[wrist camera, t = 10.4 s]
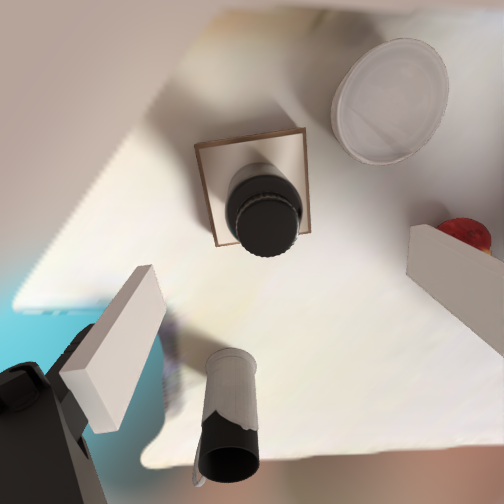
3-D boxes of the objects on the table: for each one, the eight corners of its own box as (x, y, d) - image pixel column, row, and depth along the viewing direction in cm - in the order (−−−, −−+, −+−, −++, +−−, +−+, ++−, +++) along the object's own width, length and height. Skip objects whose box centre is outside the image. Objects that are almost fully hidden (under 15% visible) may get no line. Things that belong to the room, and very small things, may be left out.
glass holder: (266, 360, 47) (278, 456, 33) (224, 410, 51) (219, 512, 37) (222, 340, 44) (215, 434, 31) (181, 393, 49) (160, 496, 35)
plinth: (298, 127, 32) (306, 127, 28) (305, 224, 37) (312, 234, 33) (198, 143, 32) (193, 144, 28) (217, 237, 37) (215, 248, 33)
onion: (411, 242, 39) (452, 268, 32) (435, 205, 37) (485, 223, 29) (444, 254, 40) (491, 282, 33) (469, 219, 38) (525, 240, 31)
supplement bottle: (227, 160, 29) (221, 178, 18) (290, 162, 30) (321, 181, 19) (227, 221, 32) (222, 269, 21) (285, 222, 32) (309, 269, 22)
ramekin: (317, 161, 34) (330, 166, 29) (326, 52, 29) (343, 37, 24) (405, 160, 34) (433, 164, 29) (427, 52, 30) (464, 37, 25)
